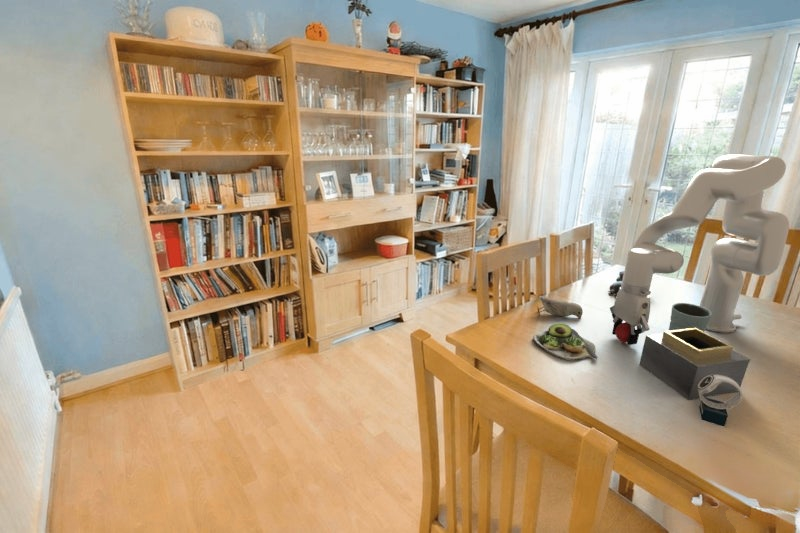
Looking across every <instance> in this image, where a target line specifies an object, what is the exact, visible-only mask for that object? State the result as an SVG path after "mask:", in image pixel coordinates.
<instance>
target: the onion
mask: <svg viewBox="0 0 800 533" xmlns="http://www.w3.org/2000/svg"><path fill="white" fill-rule="evenodd" d="M629 333H631V325H630V324H629V323H627V322H625V321H624V322H622V324H620V325H618V326H617V327H616V330H615V334H616V335H615V336H616V338H617V339H618V340H619V341H620V342H621V343H622V344H625V343H627V341H628V336H629Z"/></svg>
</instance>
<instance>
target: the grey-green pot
mask: <svg viewBox="0 0 800 533" xmlns="http://www.w3.org/2000/svg"><path fill="white" fill-rule="evenodd" d="M711 315H712V313H711V312H710V311H709V310H707V309H705V308H703V307H701V306H700V305H697V304H693V303H687V302H678V303H674V304H672V306H671V314H670V321H669V327H668V330H667V331H672V330H680V329H688V328H697V329H699V330H701V331H703V332H705V331H706V329H705V328H706V327H707V325H708V322H709V320H710V317H711Z"/></svg>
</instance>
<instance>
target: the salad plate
mask: <svg viewBox="0 0 800 533" xmlns="http://www.w3.org/2000/svg"><path fill="white" fill-rule="evenodd" d="M533 342H534V343H535V345H537V346H538V347H539V348H540V349H542V350H543V351H546V352H548V354H551V355H553V356H555V357H557V358H559V359H561V360H567V361H580V360H583V359H585V358H586V359H587V358H592V359H596V360H597V359H599V357H598V355H597V354H596V353H595V352H596V350H597V349H596V348H597V347H596V345H595V343H593V341H590V340H588V339H586V338H584V337H582V336H580V334H579V332H578V331H577V330H575V329H574V328H572V327H570V326H569V325H568V324H565V323H555V324H554V323H553V324H552V325H550V326H549V327H548V330H545V331H541V332H538V333H536V334H534V335H533ZM556 350H558V351H563V352H564V351H565V352H567V354H570V355H564V354H559V353H556V352H554V351H556Z"/></svg>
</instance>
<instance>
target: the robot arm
mask: <svg viewBox="0 0 800 533" xmlns="http://www.w3.org/2000/svg"><path fill="white" fill-rule="evenodd" d="M786 169H787V166H786V162H785V161H784V160H783V159H782V158H780V157H778V156H772V155H771V156H770V155H749V154H726V155H725V154H724V155H721V156H719V157H717V158H716V159H715V160H714V161H713V163H712V167H711V168H703V169H701V170H698V172H696V173H695V175H694V176H693V178H691V181H690V182H689V184H688V185H687V187H686V188H685V190H684V192H682V195H681V196H680V198H679V199H678V201H677V202H676V204H675V206H674V207H673V209H672V210H671V211H670V212H669V213H667V214H665V215H663V216H661V217H660V218H658V219H657V220H655V221H654V222H651V223H650V224H649V225H648V226H647V227H646V228H645V229H644V230H643V231H642V232H641V233H640V235H639V236H638V238H637V240H636V241H635V242H634V244H633V246H632V248H631V249H630V250H628V253H627V257H626V260H625V261H626V262H625V265H624V270H623V271H624V275H623V280H622V285H621V288H620V289H619V291H618V293H616V297H615V300H614V304H613V305H612V306H611V307H609V310H610V312H611V313H610V314H611V316H612V319H613V320H612V322H613V327H612V332H611V334H612V335H615V336H616V334H615V330H616V327H617V326H618V325H620V324H622V323H625V322H627V323H629V324H630V325H631V333H629V336H628V341H627V342H626V343H627V345H628V346H630V345H631V346H632V345H637V344H638V341H639V335H641V334H643V333H645V332H648V331H650V326H649V324H648V323H649V318H650V314H651V313H650V312H651V290H650V288H651V285H652V280H653V276H654V274H666V275H669V274H673V273H676V272H678V271H679V270H681V268H682V267H683V265H684V262H685V261H684V260H685V259H684V256H683V255H682V253H681V252H679V251H677V250H675V249H672V248H669V247H665V246H662V245H659V244H656V243H657V242H658V241H659V240H660V239H661V238H662V237H663V236H664V235H666V234H668V233H671V232H673V231H677V230H681V229H686V228H691V227H692V228H693V227H697V226H699V225H702V224H703V223H704V222H705V220H706V218H707V217H708V215H709V213H710V212H711V210H712V209H713V207H714V206H715V205H716V203H717V202H718V200H725V205H724V210H723V217H722V222H721V226H722V231H723V232H724V233H725V234H727V235H730V236H734V238H733V237H724V238H720V239H719V240H716V241H715V242H714V244H713V245H712V247H711V250H710V261H709V263H710V265H709V271H708V275H707V278H706V281H705V286H704V288H703V289H704V290H703V292H702V296H701V298H700V302H699V306H701V307H703V308H705V309H707V310H709V311H710V312H711V313H712V315H711V317H710V320H709V322H708V325H707V327H706V328H705V330H707V331H711V332H717V333H723V334H726V333H727V334H729V333H733V332H735V330H736V325H735V324H734V321H735V320H740V319H742V315H741V314H740V313H735V312H736V308H737V305H738V302H739V298H740V296H741V292H742V288H743V287H744V281H745V280H744V275H743V272H746V273H748V274H749V273H750V274H752V275H756V276H759V277H760V276H761V277H762V276H763V277H764V276H765V277H766V276H770V275H772V274H774V273H775V272H776V271H777V270H778V268H779V266H780V264H781V262H782V258H783V256H784V255H783V254H784V250H785V246H786V243H787V239H788V235H789V232H790V221H789V218H788V217H787V215H785V214H783V213H781V212H778V211H774V210H773V211H772V210H767V209H766V210H765V209H763V208H762V203H763V197H764V191H766V190H767V189H770V188H771V187H773V186H775V185H776V184H778V182H780V181H781V179H782V178H783V177H784V175H785V173H786ZM735 237H737V238H735ZM740 238H741V239H740ZM744 239H746V240H744ZM748 240H752V241H748ZM753 241H754V242H753ZM755 241H756V242H755ZM623 321H624V322H623Z"/></svg>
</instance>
